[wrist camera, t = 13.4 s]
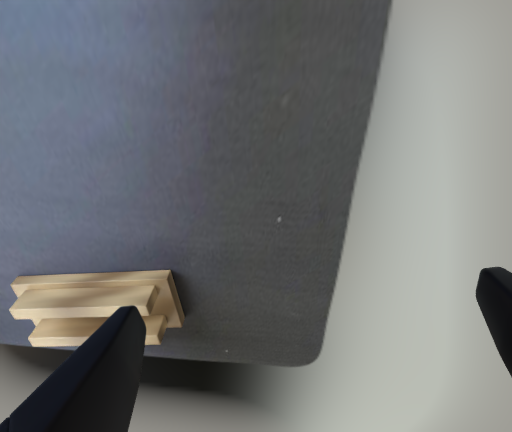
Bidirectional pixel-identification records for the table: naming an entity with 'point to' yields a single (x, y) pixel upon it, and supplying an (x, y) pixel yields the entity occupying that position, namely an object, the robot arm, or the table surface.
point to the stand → (94, 304)
